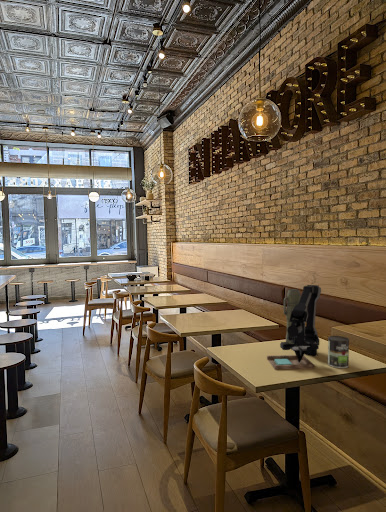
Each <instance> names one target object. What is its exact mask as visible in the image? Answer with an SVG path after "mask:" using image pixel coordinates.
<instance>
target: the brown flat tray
mask: <svg viewBox="0 0 386 512" xmlns="http://www.w3.org/2000/svg"><path fill="white" fill-rule="evenodd" d="M274 359H288V360H289V361H290V362H291V363H292V365H277V364H276V363H275V361H274ZM266 360H267V361H268V363H269V364H270V365H271V366H272V368H273V369H274V370H306V369H307V370H311V369H312V370H314V369H315V364H314V363H313V362H311V361H310V360H309V359H308V358H307V357H306V356H305V354H304V355H303V357H302V359H301V361H300V362H298V360H297V357H296V354H287V355H286V354H285V355H266Z"/></svg>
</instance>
